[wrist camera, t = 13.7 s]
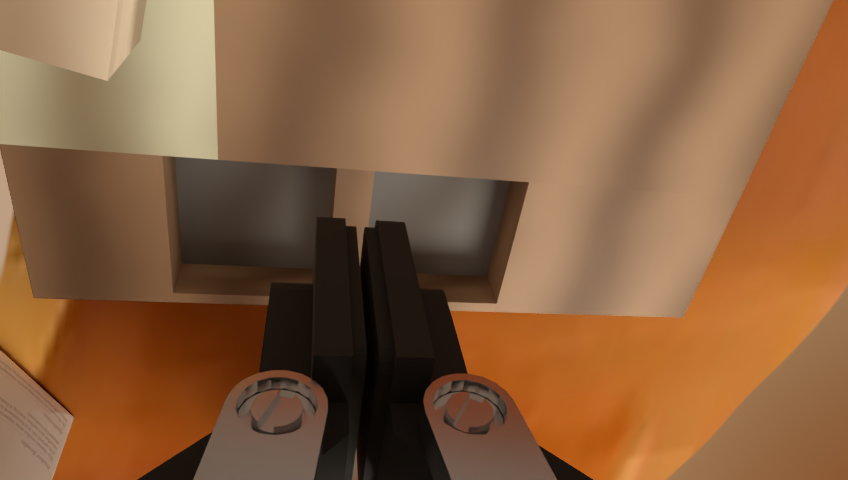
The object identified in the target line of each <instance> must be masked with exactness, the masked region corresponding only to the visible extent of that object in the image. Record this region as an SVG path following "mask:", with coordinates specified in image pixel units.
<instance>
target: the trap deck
mask: <svg viewBox="0 0 848 480" xmlns="http://www.w3.org/2000/svg"><path fill="white" fill-rule="evenodd" d="M832 2H833V0H147V1H146V7H145V14H144V20H143V27H142V33H141V39H140V42H139V43H138V44H137V45H136V47H135V48H134V49H133V50H132V52H131V53H130V54H129V55H128V56H127V58H126V59H125V60H124V61H123V63H122V64H121V65H120V66H119V67H118V69H117V70H116V71H115V72H114V74H113V75H112V76H111V77H110V79H109V80H108V81H106V80H102V79H99V78H95V77H92V76H88V75H85V74H81V73H78V72H74V71H71V70H68V69H64V68H61V67H57V66H54V65H50V64H47V63H43V62H40V61H36V60H33V59H29V58H26V57H22V56H19V55H16V54H12V53H9V52H5V51H2V50H0V150H1V155H2V159H3V164H4V168H5V172H6V177H7V181H8V186H9V190H10V195H11V199H12V204H13V208H14V213H15V217H16V221H17V226H18V230H19V235H20V239H21V244H22V248H23V252H24V257H25V261H26V266H27V270H28V275H29V279H30V284H31V288H32V292H33V297H34V298H46V299H80V300H113V301H147V302H180V303H214V304H247V305H268V302H269V294H270V287H271V282H289V283H312V278H313V263H314V249H315V234H316V220H317V217H331V218H345V219H346V226H356V228H357V240H358V251H359V263H360V261H361V252H362V243H363V234H364V228H365V227H373V228H374V227H375V222H376V220H379V221H395V222H405V225H406V229H407V234H408V238H409V243H410V247H411V252H412V256H413V261H414V265H415V270H416V274H417V278H418V283H419V287H420V288H428V289H442V290H444V293H445V295H446V298H447V302H448V306H449V309H450V311H481V312H515V313H548V314H582V315H615V316H649V317H682V318H683V317H684V315H685V313H686V310H687V308H688V306H689V304H690V302H691V300H692V298H693V296H694V294H695V291H696V289H697V287H698V285H699V283H700V281H701V279H702V277H703V275H704V272H705V270H706V268H707V266H708V264H709V262H710V260H711V258H712V256H713V253H714V251H715V249H716V247H717V245H718V243H719V241H720V239H721V237H722V234H723V232H724V230H725V228H726V226H727V224H728V222H729V220H730V218H731V215H732V213H733V211H734V209H735V207H736V205H737V203H738V201H739V199H740V196H741V194H742V192H743V190H744V188H745V186H746V184H747V182H748V180H749V177H750V175H751V173H752V171H753V169H754V167H755V165H756V163H757V161H758V158H759V156H760V154H761V152H762V150H763V148H764V146H765V144H766V142H767V139H768V137H769V135H770V133H771V131H772V129H773V127H774V125H775V123H776V120H777V118H778V116H779V114H780V112H781V110H782V108H783V106H784V104H785V101H786V99H787V97H788V95H789V93H790V91H791V89H792V87H793V85H794V82H795V80H796V78H797V76H798V74H799V72H800V70H801V68H802V66H803V63H804V61H805V59H806V57H807V55H808V53H809V51H810V49H811V47H812V44H813V42H814V40H815V38H816V36H817V34H818V32H819V30H820V28H821V25H822V23H823V21H824V19H825V17H826V15H827V13H828V11H829V9H830V6H831V4H832Z"/></svg>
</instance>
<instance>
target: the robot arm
mask: <svg viewBox="0 0 848 480" xmlns="http://www.w3.org/2000/svg"><path fill="white" fill-rule="evenodd" d="M138 480H593V479H591V478H590V477H588V476H586V475H585V474H583V473H582V472H580V471H579V470H577V469H575V468H574V467H572V466H571V465H569V464H567V463H566V462H564V461H563V460H561V459H559V458H558V457H556V456H555V455H553V454H552V453H550V452H548V451H547V450H545V449H544V448H542V447H540V446H539V445H538V444H537V442H536V440H535V439H534V437H533V435H532V433H531V431H530V429H529V428H528V426H527V424H526V422H525V420H524V419H523V417H522V415H521V413H520V411H519V409H518V408H517V406H516V404H515V402H514V401H513V399H512V398H511V397H510V395H509V394H508V393H507V391H505V390H504V389H503V388H501V387H500V386H499V385H498V384H496V383H495V382H492V381H490V380H488V379H486V378H484V377H481V376H476V375H472V374H468V373H467V370H466V366H465V363H464V359H463V356H462V352H461V348H460V345H459V341H458V338H457V334H456V331H455V327H454V323H453V320H452V316H451V313H450V309H449V306H448V302H447V298H446V295H445V293H444V290H442V289H428V288H420V287H419V283H418V278H417V274H416V270H415V265H414V261H413V256H412V252H411V247H410V243H409V238H408V234H407V229H406V225H405V222H395V221H379V220H376V222H375V227H374V228H373V227H365V228H364V234H363V243H362V252H361V261H360V263H359V251H358V240H357V228H356V226H346V219H345V218H331V217H317V220H316V234H315V249H314V263H313V278H312V283H289V282H271V287H270V294H269V302H268V310H267V317H266V325H265V333H264V340H263V348H262V355H261V363H260V371H259V373H257V374H255V375H252V376H250V377H248V378H245V379H244V380H242V381H241V382H240V383H239V384H237V385H236V386H235V387H234V388H233V389H232V390H231V392H230V393H229V395H228V396H227V398H226V400H225V403H224V405H223V408H222V410H221V412H220V415H219V417H218V420H217V422H216V425H215V427H214V430H213V432H211V433H210V434H208V435H207V436H205V437H204V438H202V439H200V440H199V441H197V442H196V443H194V444H193V445H191V446H189V447H188V448H186V449H185V450H183V451H182V452H180V453H178V454H177V455H175V456H174V457H172V458H171V459H169V460H168V461H166V462H164V463H163V464H161V465H160V466H158V467H157V468H155V469H153V470H152V471H150V472H149V473H147V474H146V475H144V476H142V477H141V478H139V479H138Z"/></svg>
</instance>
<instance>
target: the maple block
mask: <svg viewBox="0 0 848 480" xmlns="http://www.w3.org/2000/svg"><path fill="white" fill-rule="evenodd" d="M146 1H147V0H0V50H2V51H5V52H9V53H12V54H16V55H19V56H22V57H26V58H29V59H33V60H36V61H40V62H43V63H47V64H50V65H54V66H57V67H61V68H64V69H68V70H71V71H74V72H78V73H81V74H85V75H88V76H92V77H95V78H99V79H102V80H106V81H108V80H109V79H110V77H111V76H112V75H113V74H114V72H115V71H116V70H117V69H118V67H119V66H120V65H121V64H122V63H123V61H124V60H125V59H126V58H127V56H128V55H129V54H130V53H131V52H132V50H133V49H134V48H135V47H136V45H137V44H138V43H139V42H140V39H141V33H142V27H143V20H144V14H145V7H146Z"/></svg>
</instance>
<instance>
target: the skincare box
mask: <svg viewBox="0 0 848 480" xmlns="http://www.w3.org/2000/svg"><path fill="white" fill-rule="evenodd" d="M73 419H74V417H73V416H72V415H71V414H70V413H69V412H68V411H67V410H66V409H65V408H63V407H62V406H61V405H60V404H59V403H58V402H57V401H55V400H54V399H53V398H52V397H51V396H50V395H49V394H48V393H47V392H46V391H45V390H43V389H42V388H41V387H40V386H39V385H38V384H37V383H36V382H35V381H34V380H33V379H32V378H30V377H29V376H28V375H27V374H26V373H25V372H24V371H23V370H22V369H21V368H19V367H18V366H17V365H16V364H15V363H14V362H13V361H12V360H11V359H10V358H9V357H7V356H6V355H5V354H4V353H3V352H2V351H1V350H0V480H52V478H53V475H54V472H55V469H56V467H57V464H58V461H59V458H60V455H61V453H62V450H63V447H64V444H65V441H66V438H67V435H68V433H69V430H70V427H71V424H72V422H73Z"/></svg>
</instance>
